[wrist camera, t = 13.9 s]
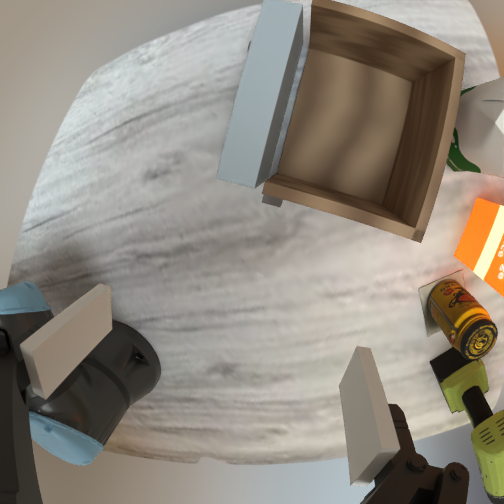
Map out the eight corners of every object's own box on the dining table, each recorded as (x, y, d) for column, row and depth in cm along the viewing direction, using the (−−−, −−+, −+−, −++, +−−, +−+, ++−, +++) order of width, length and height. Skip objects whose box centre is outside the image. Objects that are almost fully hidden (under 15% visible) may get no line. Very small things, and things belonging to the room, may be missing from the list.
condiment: (461, 268, 36) (504, 307, 25) (467, 317, 38) (502, 362, 26) (418, 287, 38) (451, 333, 27) (426, 335, 40) (454, 386, 28)
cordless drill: (483, 404, 42) (525, 498, 18) (454, 422, 44) (487, 521, 21) (462, 327, 38) (538, 444, 15) (425, 351, 40) (481, 482, 17)
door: (230, 169, 37) (203, 175, 27) (265, 35, 31) (251, -4, 21) (267, 179, 37) (254, 188, 27) (303, 43, 31) (302, 4, 21)
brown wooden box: (225, 176, 37) (188, 187, 25) (262, 31, 31) (244, -19, 19) (381, 221, 36) (417, 253, 24) (419, 77, 30) (465, 49, 17)
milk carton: (487, 135, 30) (592, 138, 11) (453, 182, 33) (556, 213, 14) (445, 86, 29) (541, 50, 10) (408, 133, 32) (501, 120, 13)
